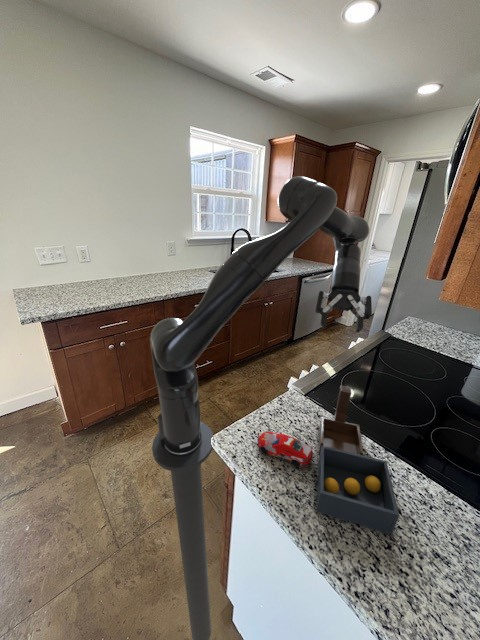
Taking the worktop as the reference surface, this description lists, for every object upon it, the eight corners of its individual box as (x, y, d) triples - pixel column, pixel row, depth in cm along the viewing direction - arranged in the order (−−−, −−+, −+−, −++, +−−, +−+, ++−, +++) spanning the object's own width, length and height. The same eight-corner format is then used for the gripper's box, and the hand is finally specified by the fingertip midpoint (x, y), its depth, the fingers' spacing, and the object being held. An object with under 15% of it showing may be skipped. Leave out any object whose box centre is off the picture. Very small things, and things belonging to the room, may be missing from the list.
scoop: (319, 421, 73) (326, 382, 68) (355, 429, 70) (365, 389, 65) (318, 455, 63) (326, 412, 58) (360, 466, 61) (371, 422, 55)
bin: (316, 511, 51) (320, 492, 49) (318, 462, 61) (321, 445, 59) (391, 534, 48) (399, 515, 46) (380, 479, 58) (386, 461, 56)
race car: (253, 449, 64) (254, 437, 63) (262, 434, 69) (263, 422, 67) (307, 473, 59) (309, 460, 57) (313, 454, 63) (315, 442, 62)
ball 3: (384, 489, 54) (369, 487, 56) (380, 473, 55) (365, 472, 57) (380, 495, 52) (365, 494, 54) (375, 479, 53) (360, 478, 55)
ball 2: (341, 475, 56) (348, 482, 56) (341, 490, 53) (348, 498, 54) (355, 474, 54) (362, 482, 55) (355, 490, 52) (363, 498, 52)
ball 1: (330, 479, 53) (343, 484, 53) (323, 473, 56) (336, 478, 56) (325, 495, 52) (338, 500, 52) (318, 487, 55) (331, 492, 55)
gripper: (321, 268, 75) (314, 320, 70) (375, 272, 71) (373, 327, 66) (319, 282, 82) (312, 330, 76) (369, 286, 78) (366, 337, 73)
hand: (340, 329), depth 71 cm, fingers open, 8 cm apart
